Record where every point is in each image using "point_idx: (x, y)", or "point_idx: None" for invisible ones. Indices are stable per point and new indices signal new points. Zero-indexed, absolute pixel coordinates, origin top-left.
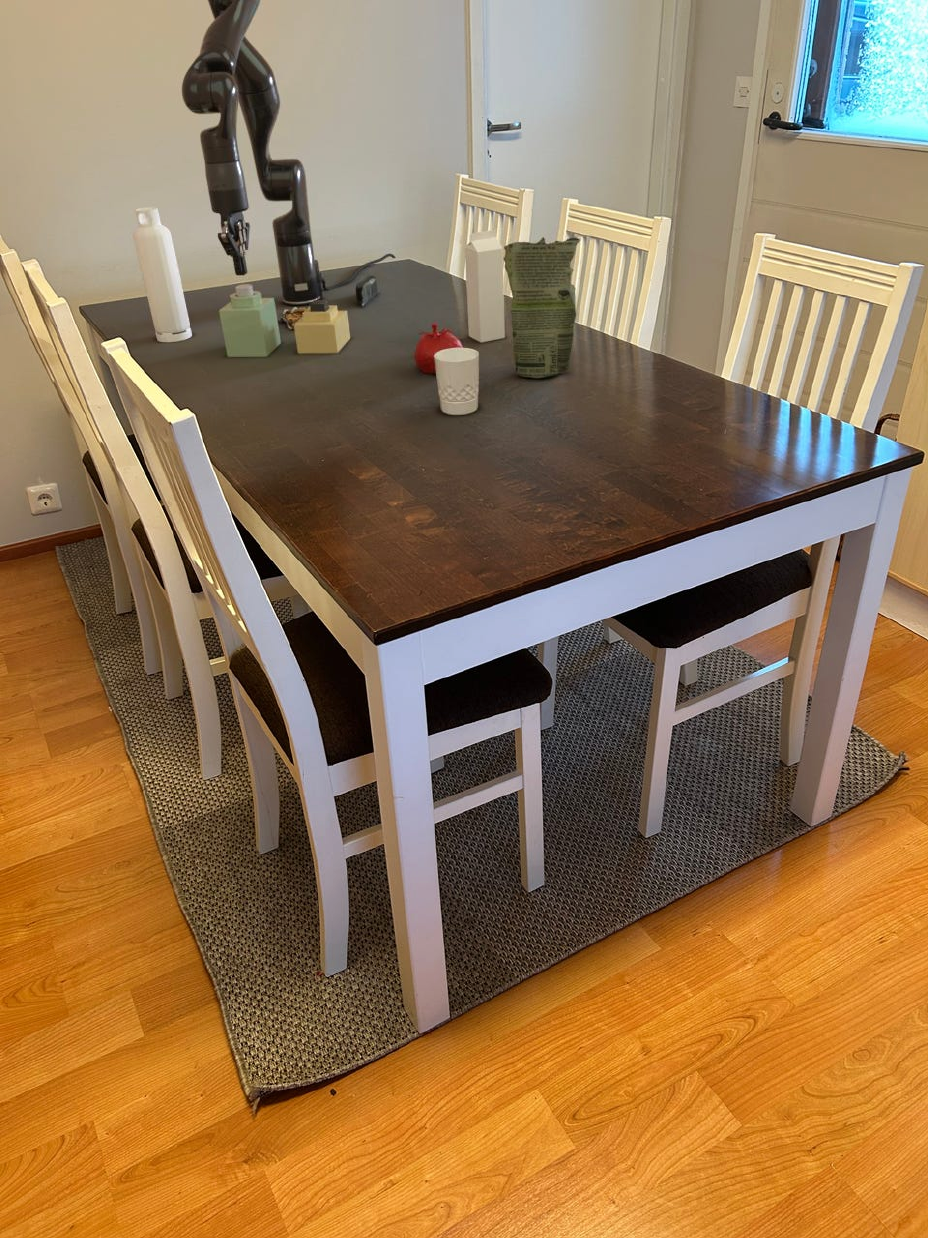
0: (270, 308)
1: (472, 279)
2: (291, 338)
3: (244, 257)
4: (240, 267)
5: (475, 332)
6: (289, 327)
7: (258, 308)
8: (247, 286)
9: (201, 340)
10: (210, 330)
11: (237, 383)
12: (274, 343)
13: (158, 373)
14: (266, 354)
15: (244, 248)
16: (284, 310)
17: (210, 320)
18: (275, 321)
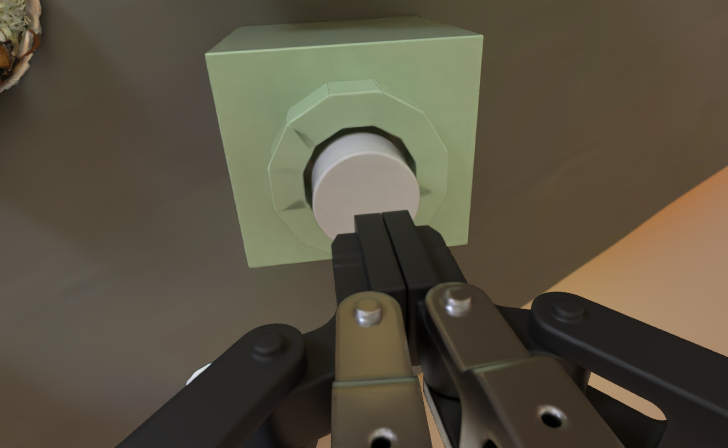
0: (299, 41)
1: None
2: (163, 3)
3: (386, 278)
4: (446, 250)
5: None
6: (21, 73)
7: (452, 52)
8: (376, 175)
9: (252, 318)
10: (145, 341)
11: (701, 6)
12: (317, 23)
13: (549, 285)
14: (421, 16)
15: (366, 335)
16: None
17: (40, 388)
18: (257, 35)
